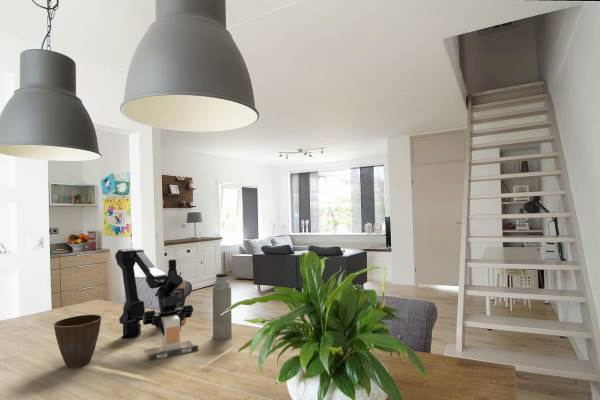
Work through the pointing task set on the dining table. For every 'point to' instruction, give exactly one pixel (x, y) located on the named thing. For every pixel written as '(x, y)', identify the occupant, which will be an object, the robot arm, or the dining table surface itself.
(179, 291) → the whiskey bottle
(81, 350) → the plant pot
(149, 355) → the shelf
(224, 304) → the thermos bottle
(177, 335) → the carton
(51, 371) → the dining table surface
